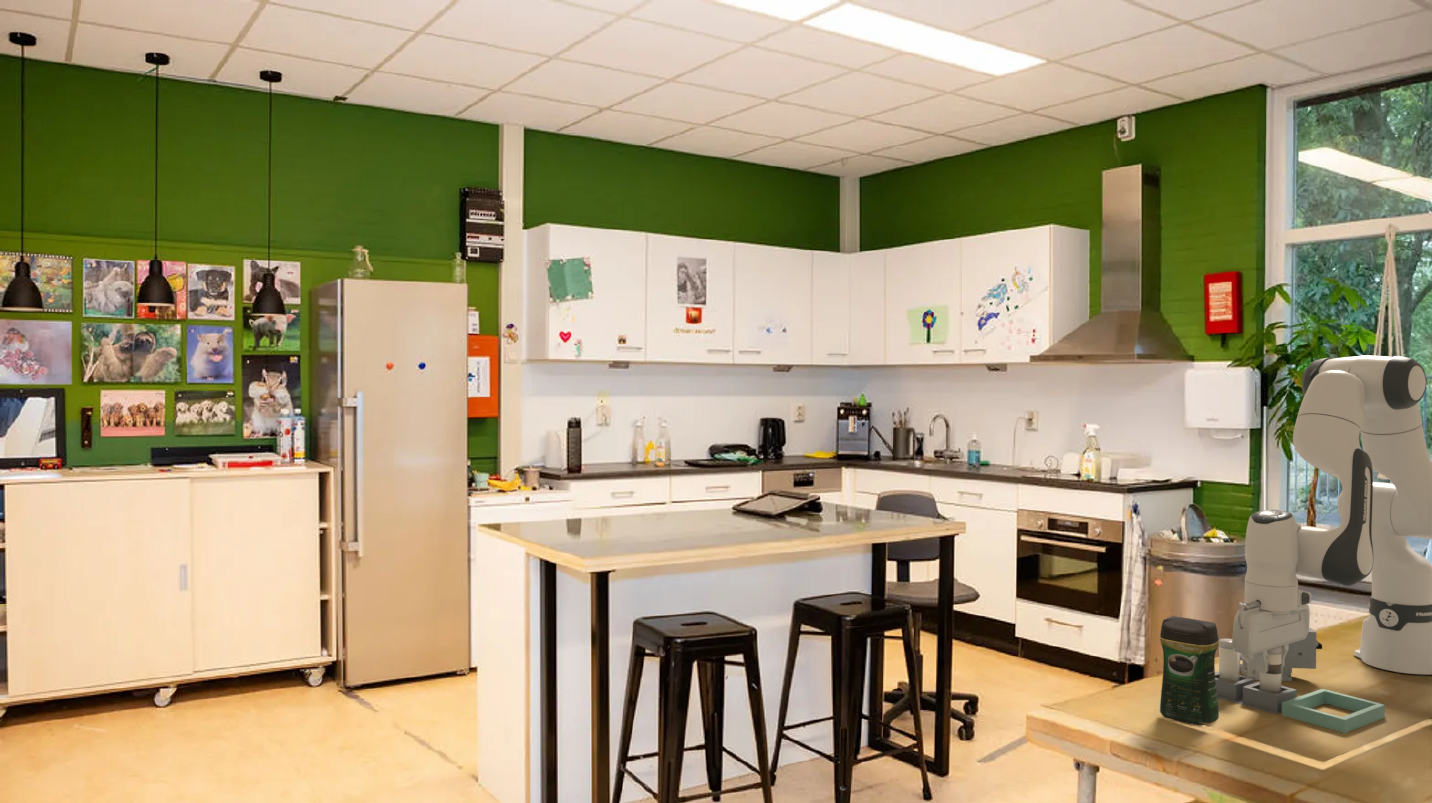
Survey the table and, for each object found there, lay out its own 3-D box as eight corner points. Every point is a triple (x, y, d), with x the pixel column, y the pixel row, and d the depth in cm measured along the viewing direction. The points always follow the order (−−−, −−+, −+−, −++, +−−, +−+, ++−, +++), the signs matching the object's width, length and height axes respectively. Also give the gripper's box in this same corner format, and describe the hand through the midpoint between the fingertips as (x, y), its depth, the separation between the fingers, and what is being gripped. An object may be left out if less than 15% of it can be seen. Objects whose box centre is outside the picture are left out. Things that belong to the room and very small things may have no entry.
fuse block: (1225, 688, 206) (1225, 669, 206) (1301, 709, 193) (1301, 689, 193) (1198, 697, 201) (1198, 677, 201) (1274, 719, 188) (1274, 697, 188)
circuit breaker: (1324, 687, 206) (1325, 613, 205) (1247, 684, 209) (1248, 611, 208) (1311, 676, 213) (1312, 605, 213) (1237, 673, 216) (1237, 602, 216)
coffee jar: (1224, 719, 189) (1225, 619, 188) (1207, 730, 183) (1208, 627, 182) (1171, 707, 196) (1171, 610, 195) (1153, 717, 190) (1154, 618, 189)
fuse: (1225, 688, 203) (1226, 637, 203) (1243, 693, 200) (1243, 641, 199) (1214, 691, 201) (1215, 640, 201) (1232, 696, 198) (1233, 644, 198)
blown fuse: (1266, 694, 196) (1266, 642, 196) (1285, 699, 193) (1285, 646, 193) (1255, 698, 194) (1255, 645, 194) (1274, 703, 191) (1274, 649, 191)
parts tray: (1322, 705, 195) (1322, 688, 195) (1384, 722, 186) (1384, 704, 186) (1281, 720, 188) (1281, 702, 188) (1344, 738, 178) (1345, 720, 178)
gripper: (1256, 608, 185) (1255, 684, 185) (1316, 593, 196) (1315, 664, 196) (1222, 601, 190) (1222, 675, 191) (1283, 587, 201) (1282, 656, 202)
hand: (1270, 669), depth 194 cm, fingers closed on blown fuse, 4 cm apart
